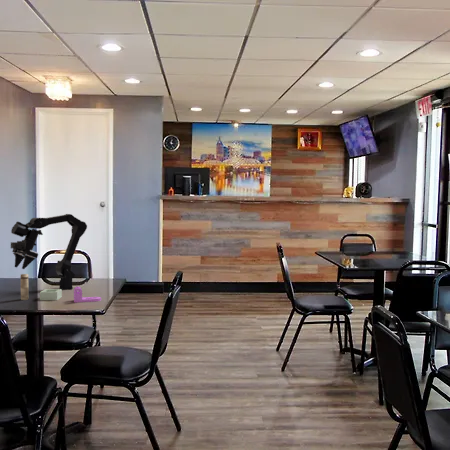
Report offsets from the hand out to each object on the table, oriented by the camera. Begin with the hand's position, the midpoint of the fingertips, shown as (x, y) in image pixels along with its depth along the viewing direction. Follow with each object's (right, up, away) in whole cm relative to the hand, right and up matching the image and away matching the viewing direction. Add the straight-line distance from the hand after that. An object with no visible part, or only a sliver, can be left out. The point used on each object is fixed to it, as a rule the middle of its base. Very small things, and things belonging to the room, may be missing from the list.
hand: (19, 268), depth 265 cm
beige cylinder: (+8, -15, -12) cm, 21 cm away
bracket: (+40, -15, -14) cm, 45 cm away
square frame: (+20, -15, -10) cm, 27 cm away
